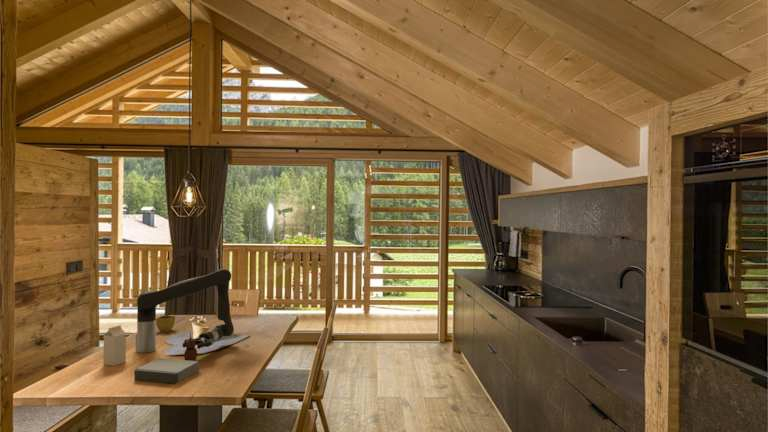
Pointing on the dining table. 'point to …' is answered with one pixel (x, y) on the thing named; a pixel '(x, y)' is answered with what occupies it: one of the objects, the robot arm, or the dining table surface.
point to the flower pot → (165, 323)
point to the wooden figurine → (190, 351)
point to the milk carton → (115, 346)
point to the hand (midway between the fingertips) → (190, 346)
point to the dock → (166, 370)
